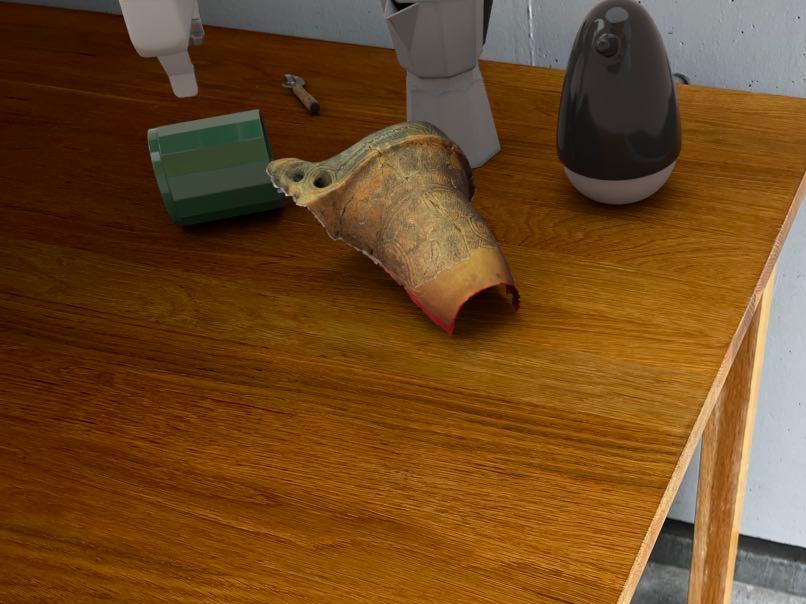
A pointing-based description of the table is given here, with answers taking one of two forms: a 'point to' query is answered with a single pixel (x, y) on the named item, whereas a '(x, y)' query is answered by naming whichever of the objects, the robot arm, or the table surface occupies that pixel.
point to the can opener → (301, 92)
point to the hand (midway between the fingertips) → (191, 67)
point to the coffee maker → (446, 69)
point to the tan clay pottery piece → (405, 214)
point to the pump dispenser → (618, 106)
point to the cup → (214, 167)
